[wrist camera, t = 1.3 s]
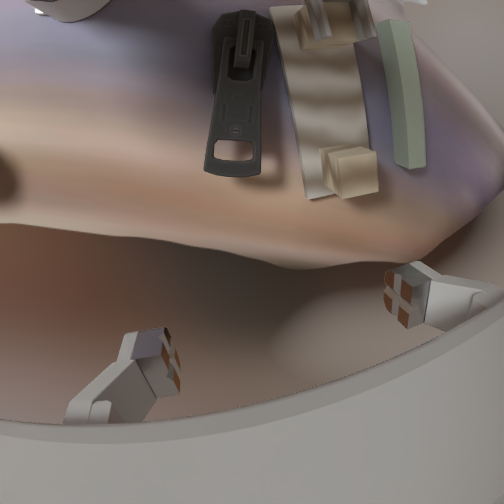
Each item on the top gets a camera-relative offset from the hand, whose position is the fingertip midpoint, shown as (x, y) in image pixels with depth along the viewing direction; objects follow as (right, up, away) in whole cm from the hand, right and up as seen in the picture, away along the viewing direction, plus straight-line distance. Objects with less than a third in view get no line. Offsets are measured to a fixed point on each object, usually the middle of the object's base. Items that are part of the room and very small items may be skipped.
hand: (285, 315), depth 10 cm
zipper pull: (-3, +26, +29) cm, 39 cm away
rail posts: (+10, +26, +30) cm, 42 cm away
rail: (+24, +30, +31) cm, 49 cm away
